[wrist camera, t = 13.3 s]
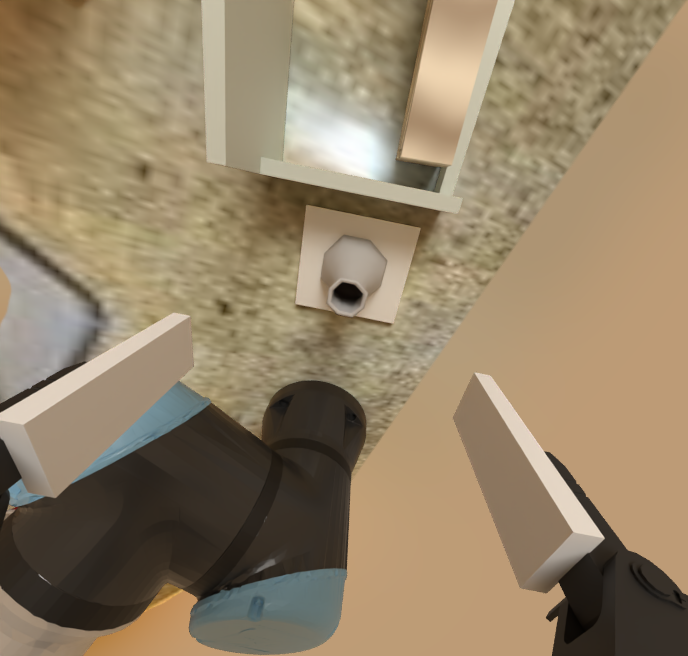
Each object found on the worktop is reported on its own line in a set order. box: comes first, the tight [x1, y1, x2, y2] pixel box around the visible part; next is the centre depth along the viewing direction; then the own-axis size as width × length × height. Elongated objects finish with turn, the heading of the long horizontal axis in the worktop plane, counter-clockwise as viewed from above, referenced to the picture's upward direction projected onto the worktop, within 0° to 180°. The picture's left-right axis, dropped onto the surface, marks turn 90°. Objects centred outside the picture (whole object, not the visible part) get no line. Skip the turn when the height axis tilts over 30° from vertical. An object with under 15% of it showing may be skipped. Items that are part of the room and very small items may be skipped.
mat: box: [295, 205, 421, 323], centre depth 31 cm, size 11×12×1 cm
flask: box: [320, 235, 387, 318], centre depth 26 cm, size 7×7×10 cm
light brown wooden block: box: [396, 0, 498, 168], centre depth 20 cm, size 17×4×6 cm, turn 171°
